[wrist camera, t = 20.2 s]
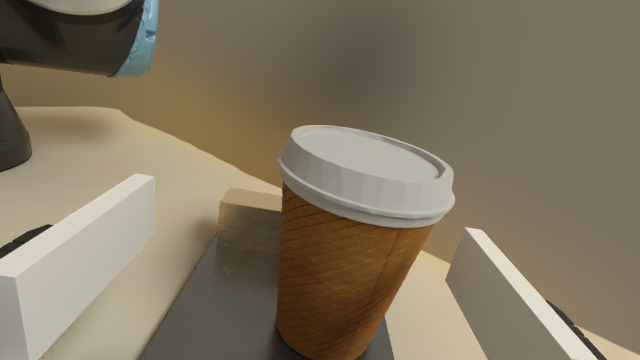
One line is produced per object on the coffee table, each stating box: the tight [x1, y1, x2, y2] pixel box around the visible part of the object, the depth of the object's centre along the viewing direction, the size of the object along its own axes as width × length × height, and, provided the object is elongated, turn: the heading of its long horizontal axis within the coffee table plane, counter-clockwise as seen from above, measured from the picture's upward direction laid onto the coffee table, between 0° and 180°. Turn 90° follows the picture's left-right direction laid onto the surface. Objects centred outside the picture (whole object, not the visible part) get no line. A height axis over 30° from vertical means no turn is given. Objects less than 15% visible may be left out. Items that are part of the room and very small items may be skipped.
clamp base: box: [140, 188, 394, 360], centre depth 20 cm, size 25×14×5 cm, turn 179°
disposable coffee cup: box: [276, 125, 455, 360], centre depth 20 cm, size 10×10×12 cm
